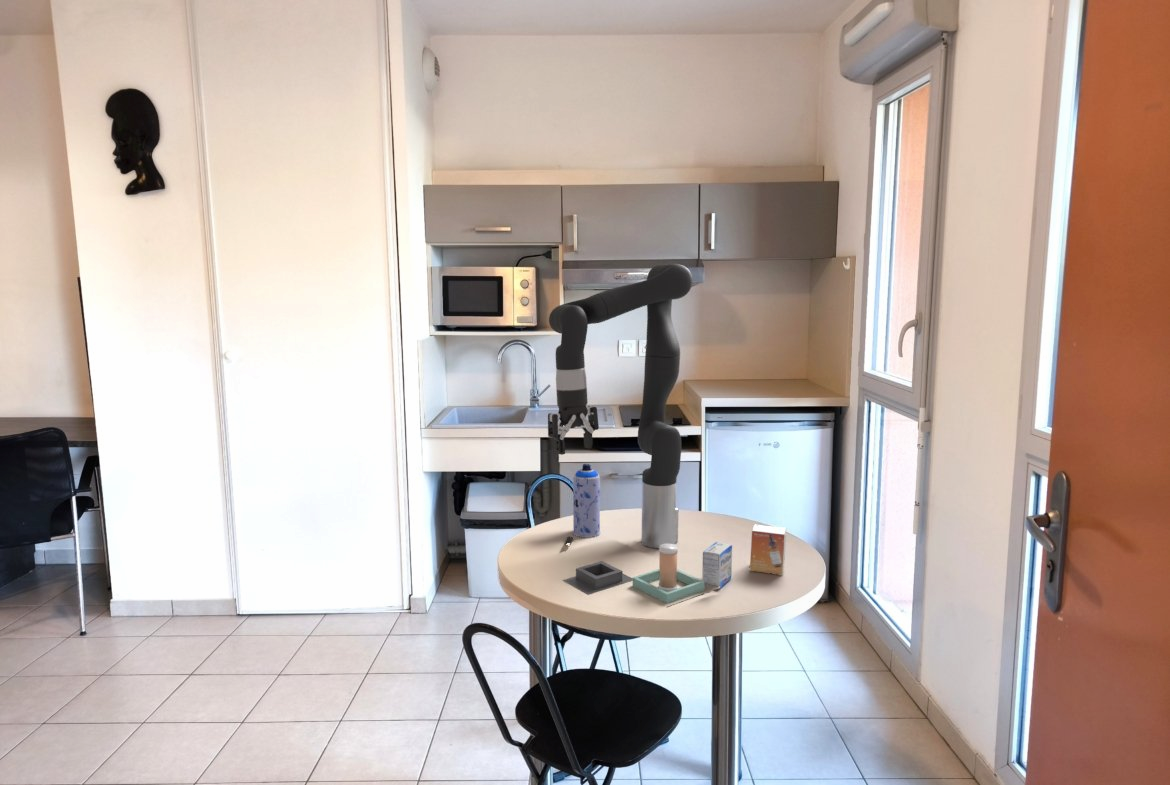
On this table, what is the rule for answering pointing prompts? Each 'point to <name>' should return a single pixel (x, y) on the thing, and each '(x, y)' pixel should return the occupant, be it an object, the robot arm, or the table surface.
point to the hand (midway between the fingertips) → (574, 451)
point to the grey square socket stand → (597, 578)
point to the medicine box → (717, 564)
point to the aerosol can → (586, 502)
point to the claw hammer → (568, 540)
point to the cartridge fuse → (668, 567)
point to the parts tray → (692, 588)
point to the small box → (768, 549)
